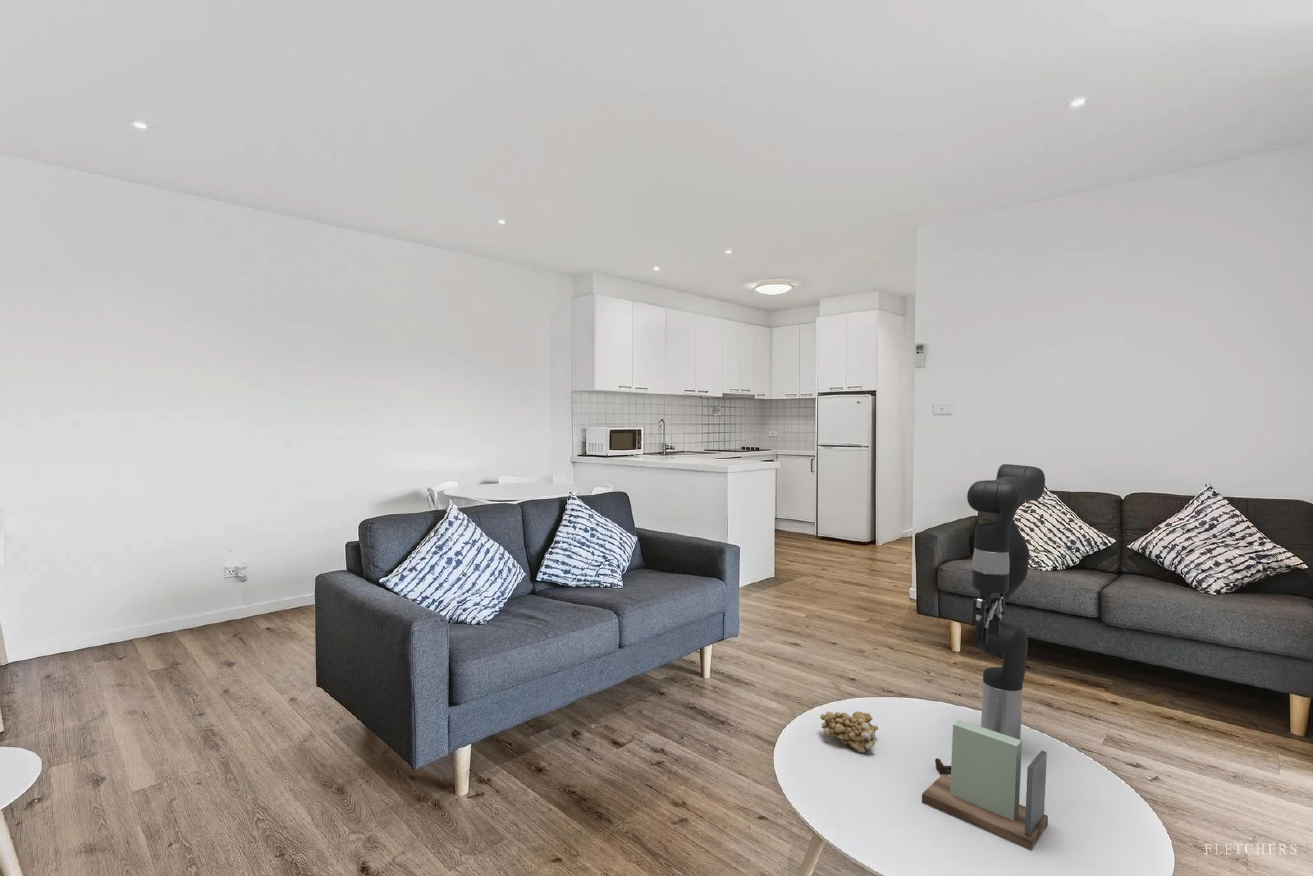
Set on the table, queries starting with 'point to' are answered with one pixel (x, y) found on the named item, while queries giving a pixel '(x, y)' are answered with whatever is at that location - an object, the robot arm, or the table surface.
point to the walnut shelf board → (981, 814)
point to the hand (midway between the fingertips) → (987, 639)
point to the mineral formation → (850, 729)
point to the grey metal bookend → (1035, 793)
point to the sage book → (986, 769)
